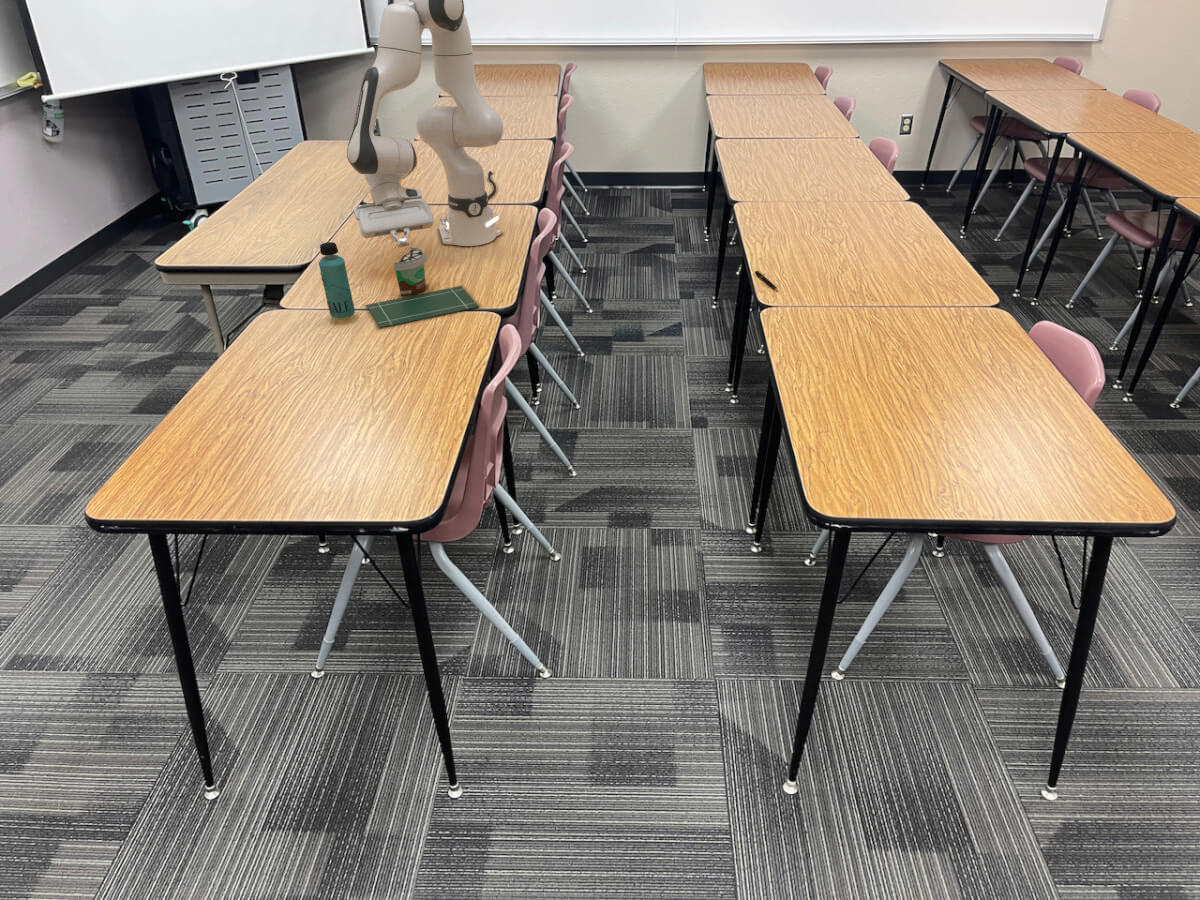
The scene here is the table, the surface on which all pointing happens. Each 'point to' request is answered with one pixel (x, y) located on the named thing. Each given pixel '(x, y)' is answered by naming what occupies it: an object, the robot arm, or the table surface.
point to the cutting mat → (421, 306)
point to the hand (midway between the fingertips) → (403, 245)
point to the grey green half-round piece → (411, 272)
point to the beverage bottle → (335, 282)
